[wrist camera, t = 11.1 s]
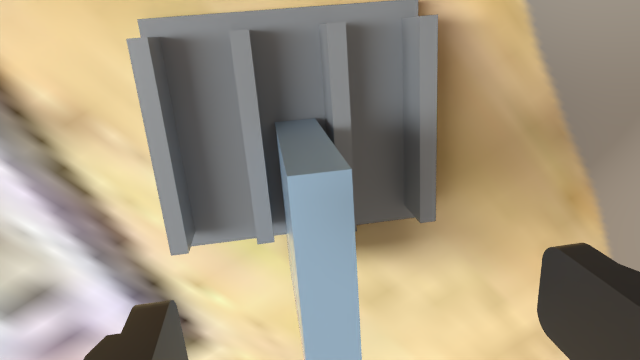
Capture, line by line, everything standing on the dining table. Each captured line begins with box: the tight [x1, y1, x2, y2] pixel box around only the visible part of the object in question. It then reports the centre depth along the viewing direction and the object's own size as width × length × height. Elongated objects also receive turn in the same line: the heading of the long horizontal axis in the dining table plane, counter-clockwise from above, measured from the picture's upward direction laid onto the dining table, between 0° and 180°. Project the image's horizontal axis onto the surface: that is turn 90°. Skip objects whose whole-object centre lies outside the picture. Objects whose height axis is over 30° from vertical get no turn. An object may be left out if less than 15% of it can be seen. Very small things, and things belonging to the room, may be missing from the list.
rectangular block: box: [275, 118, 362, 360], centre depth 24 cm, size 10×2×11 cm, turn 4°
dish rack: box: [126, 0, 438, 256], centre depth 27 cm, size 14×16×4 cm
